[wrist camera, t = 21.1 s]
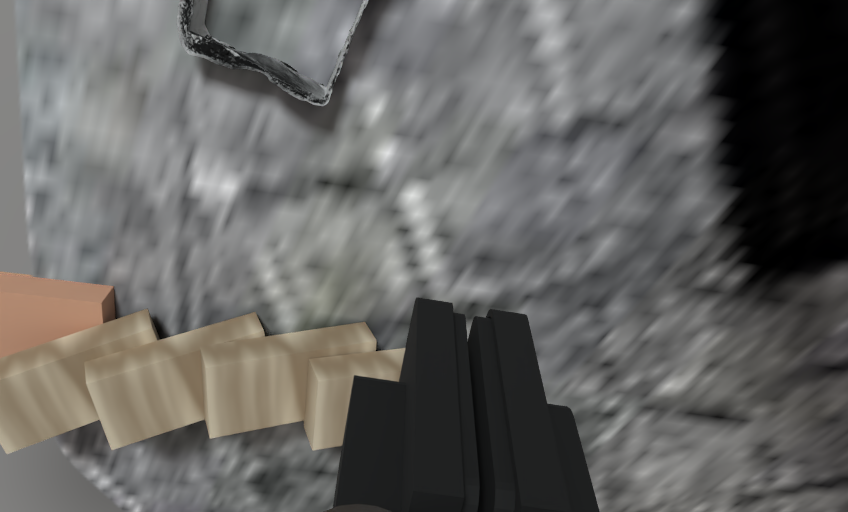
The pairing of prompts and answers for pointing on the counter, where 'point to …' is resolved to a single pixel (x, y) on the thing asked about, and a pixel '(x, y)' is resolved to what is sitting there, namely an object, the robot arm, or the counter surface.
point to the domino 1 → (48, 310)
